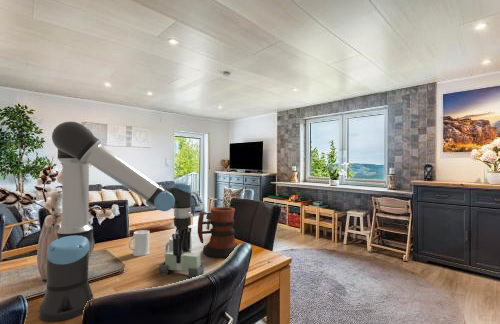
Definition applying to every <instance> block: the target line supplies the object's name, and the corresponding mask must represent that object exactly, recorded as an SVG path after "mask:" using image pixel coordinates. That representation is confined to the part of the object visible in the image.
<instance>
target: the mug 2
mask: <svg viewBox="0 0 500 324" xmlns="http://www.w3.org/2000/svg"><path fill="white" fill-rule="evenodd" d="M192 238H193V237H192V236H191V240H190V249H188V250H190V251H189V252H187V253H192V247H193V245H192V244H193V241H192ZM164 251H165V253H167V252H169V251H172V252H173V238H172V236H170V237H169V239H168V241H167V242H166V243H165V248H164ZM182 252H183V251H182Z"/></svg>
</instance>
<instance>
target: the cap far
mask: <svg viewBox="0 0 500 324" xmlns="http://www.w3.org/2000/svg"><path fill="white" fill-rule="evenodd" d="M158 275H165V276H168V275H169V269H168V265H165V261H163V262H161V263H159V265H158Z"/></svg>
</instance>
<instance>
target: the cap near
mask: <svg viewBox="0 0 500 324" xmlns="http://www.w3.org/2000/svg"><path fill="white" fill-rule="evenodd" d="M204 268H205V265H204V264H201V263H200V267H199V268H198V269H190V268H189V272H188V279H192V277H196V276H199V275H202V274H203V275H204V273H205V271H204V270H205V269H204ZM203 275H202V276H203Z"/></svg>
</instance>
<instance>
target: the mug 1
mask: <svg viewBox="0 0 500 324" xmlns="http://www.w3.org/2000/svg"><path fill="white" fill-rule="evenodd" d="M132 241H133V248H132V247H131V242H132ZM128 248H129V250H131V251H133V252H132V255H133V256H135V257H143V256H147V255H150V230H148V229H143V230H142V229H140V230H136V231H134V232H133V236H131V238H130V240H129V242H128Z"/></svg>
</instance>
